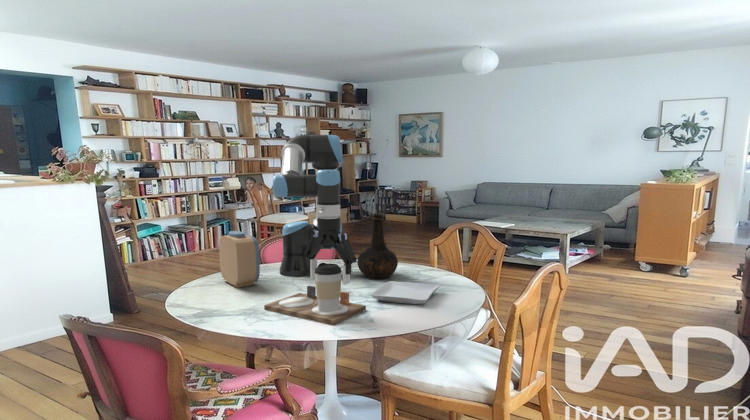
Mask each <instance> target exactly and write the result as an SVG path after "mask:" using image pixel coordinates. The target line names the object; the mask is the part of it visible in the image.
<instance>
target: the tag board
mask: <svg viewBox="0 0 750 420" xmlns="http://www.w3.org/2000/svg"><path fill="white" fill-rule="evenodd" d="M263 307H264V310H266V311H268V312H269V311H270V312H274V313H279V314H283V315H288V316H292V317H296V318H300V319H304V320H309V321H312V322H313V321H314V322H318V323H323V324H327V325H331V326H335V325H337V324H339V323H341V322H343V321H345V320H348V319H349V318H352V317H354V316H356V315H359V314H360V313H362V312H364V310H365V311H366V309H367V306H366V305H364V304H361V303H360V304H358V303H354V302H350V292H348V291H340V299H339V309H338V310H336V311H332V312H323V311H319V310H318V299H317V293H316V285H315V286H314V285H306V293H303V292H299V293H296V294H292V295H289V296H286V297H284V298H281V299H278V300H275V301H272V302H269V303H266V304H264V305H263Z"/></svg>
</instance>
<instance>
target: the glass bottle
mask: <svg viewBox="0 0 750 420" xmlns="http://www.w3.org/2000/svg"><path fill="white" fill-rule="evenodd" d="M371 216H372V217H371V218H370V220H372V225H371V226H372V227H371V238H370V239H371V241H370V247H368V248H366V249H365V250H363V251H362V252H361V253H359V255H358V257H357V262H356V263H357V267H358V269H359V271H360V272H361V273H362V275H363V276H365V277H367V278H368V279H373V280H377V279H379V280H380V279H381V280H382V279H386V278H388V277H391V276H392V275H393V274H394V273H395V272H396V271H397V268H398V266H399V265H398V264H399V263H398V262H399V261H398V257H397V255H396V254H395V252H394V251H392V250H391V249H389V248H388V247H387V245H386V241H385V234H384V226H383V225H384V224H383V221H384V220H385V218H384V217H383V214H382V213H372V214H371Z"/></svg>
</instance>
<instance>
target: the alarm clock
mask: <svg viewBox="0 0 750 420" xmlns="http://www.w3.org/2000/svg"><path fill="white" fill-rule="evenodd" d="M218 244H219V245H218V250H219V251H218V253H219V269H220V274H221V277H222V278H223V280H225V281H226V283H228V284H229V285H231V286H233V287H235V288H242V287H247V286H253V285H255V282H258V280H259V279H260V275H261V274H260V273H261V270H260V269H261V268H260V267H261V265H260V264H261V263H260V247H259V242H258V240H257V238H256V237H254V236H253V235H250V234H247V233H245V232H244V231H239V230H232V231H231V230H230V231H228V234H227V235H226V234H225V235H220V237H219V243H218Z"/></svg>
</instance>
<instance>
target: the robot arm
mask: <svg viewBox="0 0 750 420" xmlns="http://www.w3.org/2000/svg"><path fill="white" fill-rule="evenodd" d="M341 144H342V143H341V139H340V136H338V135H335V134H301V135H298V136H295V137H293V138H290V139H289V140H288V141H286V143H284V145H282V149H281V151H280V158H281V161H282V162H281V170H280V174H276V175H273V178H272V191H273V195H274V197H277V198H278V197H279V198H296V197H297V198H305V197H306V198H310V197H312V198H314V197H315V202H316V203H315V207H316V209H315V211H316V214H315V216H316V218H314V219H313V222H312V223H310V224H309V221H307V220H300V221H299V220H298V221H292V222H288V223H286V224H284V225H283V227H282V234H281V236H282V259H281V264H280V266H279V274H280V275H282V276H286V277H299V276H308V275H310V277H309V278H310V280H315V279H316V278H315V273H314V272H315V269H316V268H317V267H318V258H317V255H318V254H319V252H321V250H334V249H335V251H336V252H337V254H338V256H340V258H341V260H342V261H343V263H344V264H342V285H344V286H345V285H349V284H351V282H350V281H351V278H350V277H351V274H352V265H353V264H354V263H357V261H358V258H357V257H356V255H355V251H354V250H353V247H352V245H351V243H350V240H349V239H350V238H349V234H348V232H345V233H343V225H342V223H341V218H340V217H341V176H340V170H338V169H339V168H340V164H342V163H343V162H344V161H343V152H342V151H343V150H342V145H341ZM303 164H311V167H312V168H313V170H315V174H303Z"/></svg>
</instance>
